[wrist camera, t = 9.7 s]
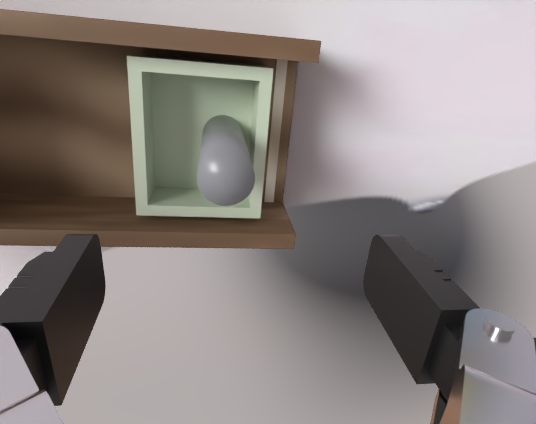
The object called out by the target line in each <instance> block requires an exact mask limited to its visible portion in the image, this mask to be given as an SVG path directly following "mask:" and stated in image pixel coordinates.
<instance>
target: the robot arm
mask: <svg viewBox="0 0 536 424" xmlns="http://www.w3.org/2000/svg"><path fill="white" fill-rule="evenodd" d="M363 281H364V282H363V284H364V292H365V296H366V298H367V300H368V301H369V303H370V305H371V307H372V308H373V309H374V312H375V313H376V315H377V317H378V319H379V320H380V322H381V324H382V325H383V327H384V329H385V331H386V332H387V334H388V336H389V337H390V339H391V341H392V343H393V344H394V346H395V348H396V349H397V351H398V353H399V354H400V356H401V358H402V360H403V361H404V363H405V365H406V367H407V368H408V370H409V372H410V373H411V375H412V377H413V378H414V380H415V382H416V384H428V383H436V385H437V386H438V388H439V389H438V392H437V395H436V397H435V402H434V407H433V413H432V419H431V423H430V424H536V338H533V336H532V334H531V333H530V332H529V330H528V329H527V328H526V327H525V326H524V325H522V324H521V323H520V322H518V321H517V320H515V319H514V318H512V317H510V316H508V315H506V314H503V313H501V312H498V311H495V310H490V309H483V308H479V307H478V306H477V305H476V304H475V303H474V302H473V301H472V300H471V299H470V298H469V297H468V296H467V294H466V293H465V292H464V291H462V290H461V288H460V287H459V286H458V285H457V284H456V283H455V282H454V281H451V278H450V277H449V276H448V275H447V274H446V273H445V272H443V270H442V269H441V268H440V267H439V266H438V265H437V264H436V263H435V262H434V261H433V260H432V259H431V258H429V257H427V256H426V255H424V254H422V253H420V252H419V251H416V250H415V249H414V248H413V247H412V246H411V245H410V244H409V243H408V242H407V241H406V240H405V239H404V238H403V237H402V236H401V235H376V236H374V237H373V239H372V242H371V246H370V251H369V256H368V260H367V265H366V270H365V274H364V280H363ZM104 296H105V276H104V269H103V261H102V253H101V246H100V240H99V237H98V235H97V234H66V235H65V236H64V238H63V239H62V240H61V242H60V243H59V245H58V246H57V247H56V249H55V250H54V251H53V252H44V253H42V254H41V255H39V256H37V257H36V258H34V259H33V260H31V261H29V262H28V263H27V264H26V265H25V266H24V268H23V269H22V270H21V271H20V272H19V274H18V275H17V278H15V279H14V280H13V281H12V282H11V284H10V285H9V288H8V289H6V290H5V291H4V292H3V293H2V295H1V296H0V424H64V423H63V421H62V420H61V418H60V416H59V414H58V412H57V410H56V408H55V406H58V405H62V403H63V400H64V398H65V395H66V393H67V390H68V388H69V385H70V383H71V380H72V378H73V376H74V373H75V371H76V368H77V366H78V363H79V361H80V358H81V356H82V353H83V351H84V349H85V346H86V344H87V341H88V339H89V336H90V334H91V331H92V329H93V326H94V324H95V322H96V319H97V317H98V314H99V312H100V309H101V307H102V304H103V301H104Z"/></svg>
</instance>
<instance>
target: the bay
mask: <svg viewBox="0 0 536 424" xmlns="http://www.w3.org/2000/svg"><path fill="white" fill-rule="evenodd" d="M320 47H321V41H316V40H306V39H296V38H286V37H276V36H266V35H256V34H246V33H236V32H226V31H216V30H206V29H196V28H185V27H175V26H165V25H155V24H145V23H135V22H125V21H115V20H105V19H95V18H85V17H75V16H65V15H55V14H45V13H35V12H25V11H15V10H4V9H0V245H23V246H58V245H59V243H60V242H61V240H62V239H63V238H64V236H65V235H66V234H97V235H98V237H99V240H100V246H102V247H183V248H184V247H185V248H261V249H263V248H264V249H294V244H295V236H296V234H295V231H294V229H293V227H292V224H291V222H290V219H289V217H288V215H287V212H286V210H285V207H284V205H283V203H282V201H283V192H284V183H285V174H286V165H287V156H288V147H289V138H290V129H291V120H292V111H293V102H294V93H295V84H296V75H297V66H298V61H303V62H314V63H318V62H319V54H320ZM135 54H151V55H162V56H174V57H185V58H197V59H208V60H220V61H231V62H242V63H254V64H265V65H267V66H269V67H271V68H273V79H272V91H271V102H270V114H269V125H268V136H267V148H266V159H265V171H264V182H263V194H262V205H261V217H260V218H222V217H181V216H141V215H136V201H135V185H134V168H133V152H132V135H131V118H130V102H129V85H128V68H127V56H129V55H135Z"/></svg>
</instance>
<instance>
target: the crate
mask: <svg viewBox="0 0 536 424" xmlns="http://www.w3.org/2000/svg"><path fill="white" fill-rule="evenodd" d="M127 68H128V85H129V102H130V118H131V135H132V152H133V168H134V185H135V201H136V215H141V216H181V217H222V218H260V217H261V205H262V194H263V182H264V171H265V159H266V148H267V136H268V125H269V114H270V102H271V91H272V79H273V68H271V67H269V66H267V65H265V64H254V63H242V62H231V61H220V60H208V59H197V58H185V57H174V56H162V55H151V54H135V55H129V56H127Z"/></svg>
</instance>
